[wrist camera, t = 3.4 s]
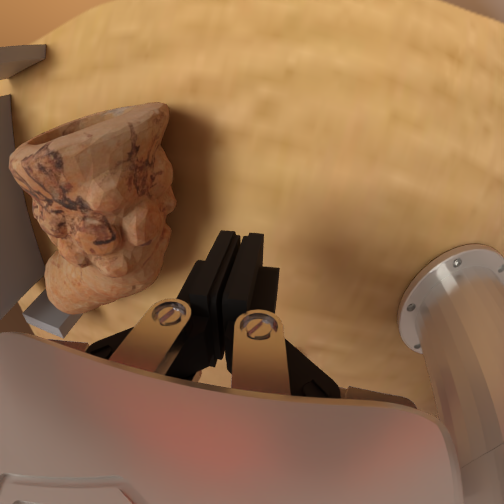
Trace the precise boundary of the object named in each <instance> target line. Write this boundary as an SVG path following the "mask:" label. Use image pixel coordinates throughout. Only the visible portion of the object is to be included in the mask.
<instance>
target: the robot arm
mask: <svg viewBox="0 0 504 504" xmlns="http://www.w3.org/2000/svg"><path fill="white" fill-rule="evenodd" d="M263 243H264V234H259V233H249V235H248V236H244V237H243V239H242V242H241V245H240V235H236V233H235V231H223V230H221V231H220V233H219V235H218V237H217V239H216V241H215V243H214V245H213V247H212V249H211V250H210V252H209V254H208V256H207V258H206V260H205V261H202V260H198V261H197V262H196V263H195V265H194V267H193V268H192V270H191V272H190V274H189V276H188V278H187V280H186V281H185V283H184V285H183V287H182V289H181V291H180V293H179V295H178V297H177V298H176V299H174V298H172V299H164V300H161V301H159V302H157V303H155V304H154V305H152V306H151V307H150V308H149V310H148V311H147V312H146V313H145V314H144V316H143V317H142V318H141V319H140V321H139V322H138V323H137V324H136V326H135V327H132V328H130V329H127V330H125V331H122V332H120V333H117V334H115V335H112V336H109V337H107V338H104V339H102V340H99V341H97V342H95V343H93V344H92V345H90V346H89V344H88V343H83V342H72V341H62V340H52V339H44V338H41V337H38V336H34V335H30V334H26V333H19V332H3V333H0V504H504V258H503V257H502V255H501V254H500V253H498V252H497V251H496V250H495V249H493V248H491V247H489V246H487V245H481V244H470V245H464V246H460V247H457V248H454V249H452V250H450V251H448V252H446V253H443V254H442V255H440V256H439V257H437V258H436V259H434V260H433V261H431V262H430V263H429V264H428V265H427V266H426V267H425V268H424V269H422V270H421V271H420V272H419V274H418V275H417V276H416V277H415V278H414V279H413V280H412V282H411V283H410V285H409V286H408V288H407V289H406V291H405V293H404V295H403V297H402V299H401V302H400V305H399V309H398V313H397V323H398V328H399V332H400V335H401V338H402V340H403V342H404V343H405V344H406V345H407V347H409V348H410V349H411V350H413V351H415V352H418V353H420V354H423V355H424V359H425V362H426V366H427V370H428V374H429V377H430V381H431V385H432V390H433V394H434V398H435V403H436V407H437V412H438V417H439V419H437V418H436V417H434V416H432V415H431V414H428V413H426V412H424V411H421V410H418V409H417V408H416V406H415V404H414V403H413V402H412V401H411V400H409V399H408V398H405V397H402V396H396V395H390V394H385V393H379V392H374V391H369V390H365V389H360V388H355V387H351V386H349V387H348V389H345V388H341V387H338V385H337V384H336V383H335V382H334V381H333V380H332V379H331V378H330V377H329V376H328V375H326V374H325V373H324V372H323V371H322V370H321V369H319V368H318V367H317V366H316V365H315V364H314V363H312V362H311V361H310V360H309V359H308V358H307V357H305V356H304V355H303V354H302V353H301V352H300V351H299V350H297V349H296V348H295V347H294V346H293V345H292V344H291V343H289V342H288V341H287V340H286V339H285V337H284V328H283V324H282V321H281V319H280V318H279V317H278V316H277V315H275V308H276V300H277V291H278V280H279V268H273V267H263V266H262V265H263ZM224 352H225V356H226V362H227V370H228V371H229V372H230V373H231V374H232V381H231V388H227V387H221V386H215V385H209V384H204V383H198V381H199V379H200V377H201V374H202V369H204V368H206V367H208V366H211V367H215V366H216V362H217V359H220V360H222V359H223V356H224Z"/></svg>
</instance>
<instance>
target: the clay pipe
mask: <svg viewBox="0 0 504 504" xmlns="http://www.w3.org/2000/svg"><path fill="white" fill-rule="evenodd" d="M168 121H169V108H168V106H167V105H166V104H164V103H159V102H154V103H146V104H143V105H135V106H128V107H122V108H116V109H112V110H108V111H104V112H99V113H95V114H92V115H89V116H85V117H82V118H79V119H76V120H74V121H71V122H68V123H65V124H63V125H60V126H58V127H56V128H53V129H51V130H49V131H46V132H44V133H42V134H40V135H37V136H36V137H34V138H32V139H30V140H28V141H26V142H25V143H23V144H21V145H20V146H19V147H18V148H17V149H16V150H15V151H14V152H13V153H12V154H11V155H10V157H9V158H10V159H9V169H10V171H11V173H12V175H13V176H14V178H15V180H16V181H17V183H18V184H19V185H20V187H21V188H22V189H23V190H24V191H25V192H27V193H28V194H29V195H30V196H31V197H32V199H33V206H32V210H33V215H34V218H35V219H37V220H38V222H39V224H40V226H41V228H42V230H43V231H45V232H46V233H47V235H48V237H49V238H50V240H51V241H52V242H53V243H54V244H55V245H56V246H57V247H58V250H57V251H56V252H55V253H54V254H53V255H52V256H51V257H50V258H49V260H48V261H47V263H46V268H45V275H44V277H45V281H46V291H47V296H48V299H49V300H50V302H51V303H52V304H53V305H54V306H55V307H56V308H57V309H59V310H60V311H62V312H64V313H67V314H72V315H75V314H82V313H85V312H88V311H91V310H93V309H95V308H97V307H99V306H101V305H105V304H108V303H111V302H114V301H116V300H117V299H119V298H123V297H127V296H130V295H132V294H135V293H138V292H140V291H142V290H144V289H146V288H147V287H149V286H150V285H151V284H153V283H154V281H155V280H156V278H157V277H158V275H159V272H160V270H161V268H162V264H163V259H164V254H165V252H166V249H167V247H168V244H169V240H170V236H171V228H170V227H169V226H168V225H167V223H166V218H167V215H168V214H169V213H171V212H172V211H174V209H175V206H176V203H177V202H176V199H175V197H174V194H173V191H172V188H171V183H172V182H173V168H172V165H171V163H170V162H169V160H168V158H167V157H166V154H165V151H164V150H163V148H162V147H161V141H162V138H163V134H164V132H165V130H166V127H167V125H168Z"/></svg>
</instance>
